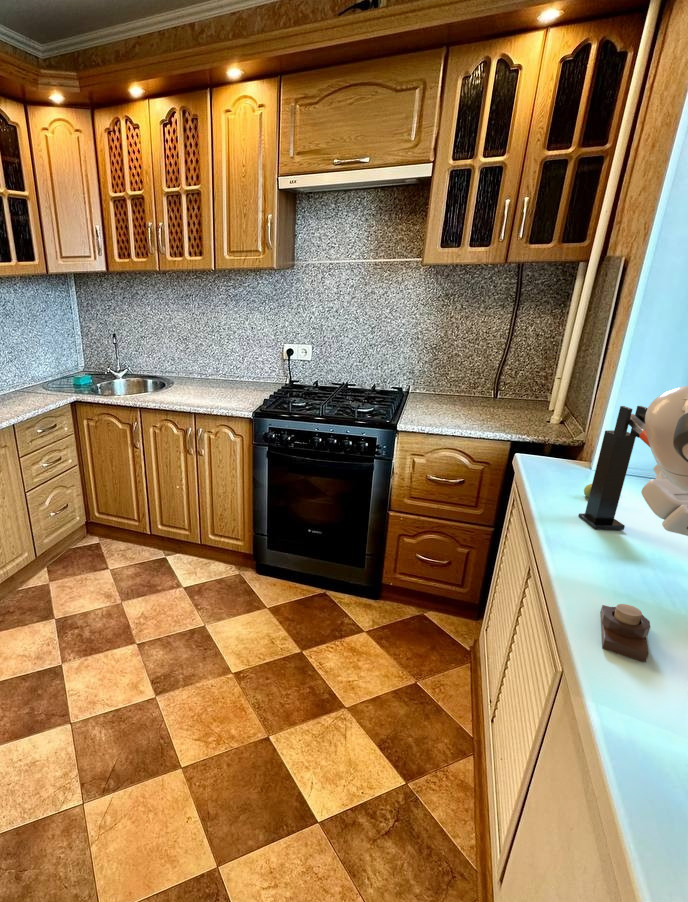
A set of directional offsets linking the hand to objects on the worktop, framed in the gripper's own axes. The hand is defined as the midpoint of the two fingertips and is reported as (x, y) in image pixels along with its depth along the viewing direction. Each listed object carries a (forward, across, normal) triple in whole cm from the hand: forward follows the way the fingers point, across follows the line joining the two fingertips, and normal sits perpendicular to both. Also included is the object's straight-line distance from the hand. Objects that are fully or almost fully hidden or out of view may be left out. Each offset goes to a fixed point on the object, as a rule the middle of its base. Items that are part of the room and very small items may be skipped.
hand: (682, 465), depth 110 cm
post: (+5, 0, +29) cm, 29 cm away
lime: (+18, -7, +37) cm, 41 cm away
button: (-33, +24, +3) cm, 41 cm away
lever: (+12, 0, +4) cm, 13 cm away
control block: (-34, +24, +6) cm, 42 cm away
